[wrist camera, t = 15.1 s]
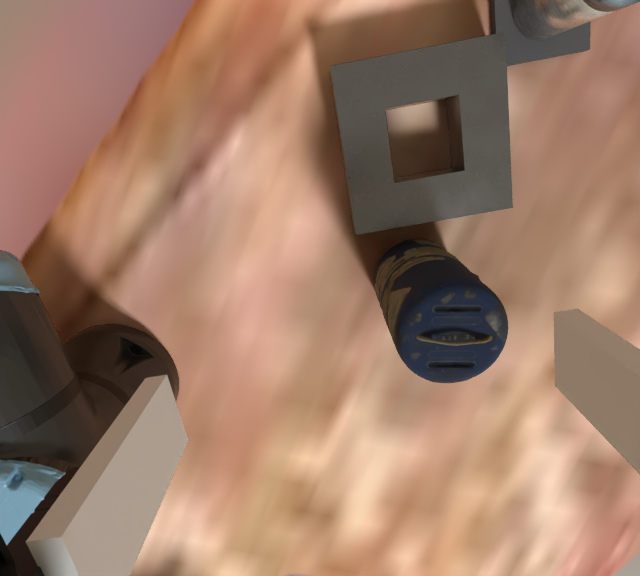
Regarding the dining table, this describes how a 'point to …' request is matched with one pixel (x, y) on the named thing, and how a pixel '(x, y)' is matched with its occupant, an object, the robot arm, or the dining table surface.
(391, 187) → the housing
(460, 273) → the canister
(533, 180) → the dining table surface
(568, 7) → the silver metal cylinder
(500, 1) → the coaster
